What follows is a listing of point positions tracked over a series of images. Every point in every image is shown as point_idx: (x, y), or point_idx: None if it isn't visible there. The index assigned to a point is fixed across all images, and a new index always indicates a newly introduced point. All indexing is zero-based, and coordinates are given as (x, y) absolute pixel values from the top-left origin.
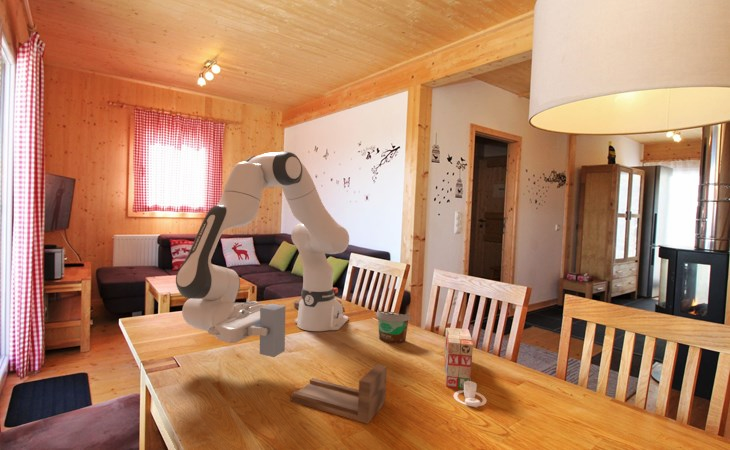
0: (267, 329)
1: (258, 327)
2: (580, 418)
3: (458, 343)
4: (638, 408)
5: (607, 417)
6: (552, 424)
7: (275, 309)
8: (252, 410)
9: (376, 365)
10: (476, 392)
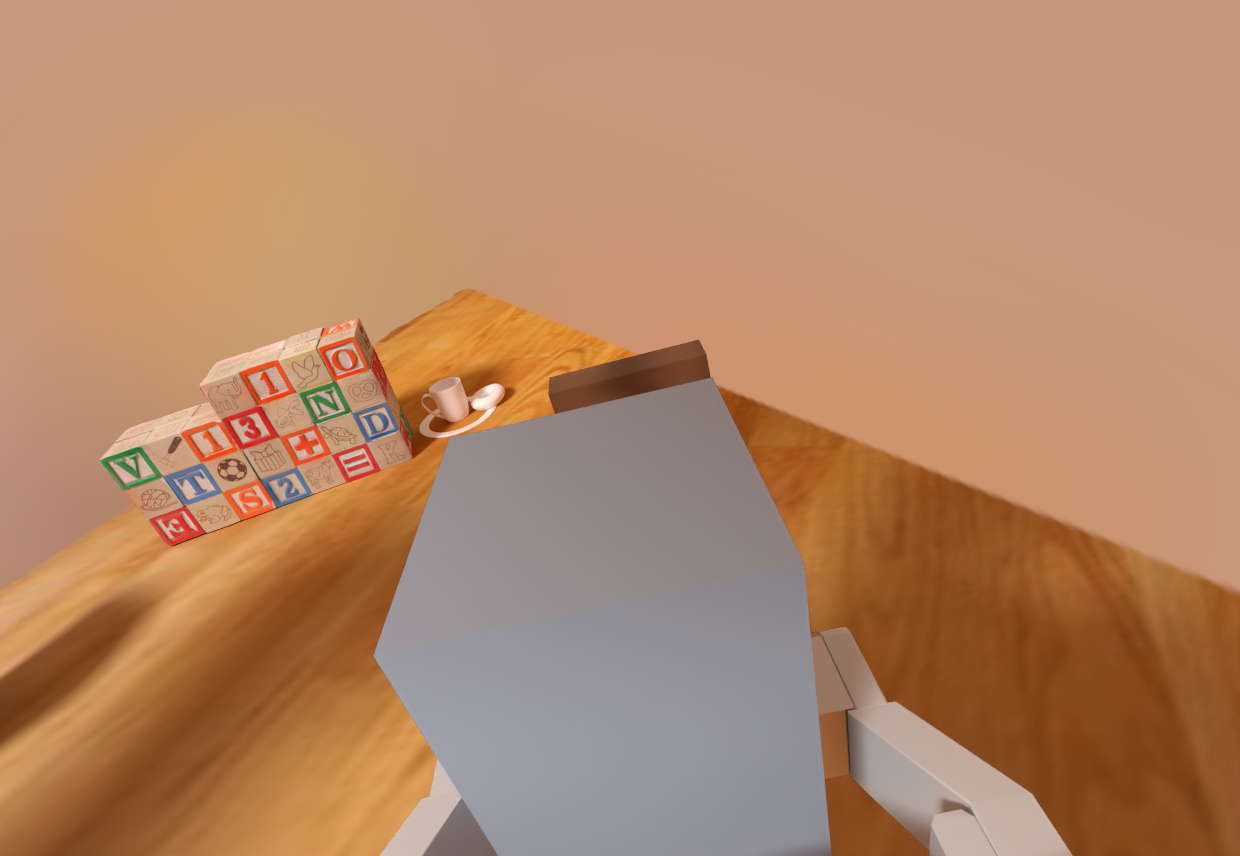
0: (814, 633)
1: (911, 729)
2: (467, 336)
3: (356, 328)
4: (404, 326)
5: (449, 328)
6: (506, 341)
7: (668, 397)
8: (1083, 777)
9: (560, 389)
10: (425, 418)
